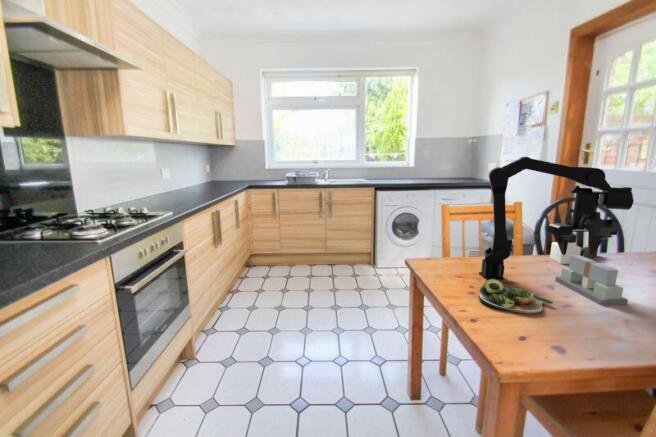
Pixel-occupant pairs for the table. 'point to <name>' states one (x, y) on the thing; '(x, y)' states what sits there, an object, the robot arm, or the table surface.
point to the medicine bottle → (571, 250)
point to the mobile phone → (587, 252)
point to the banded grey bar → (593, 270)
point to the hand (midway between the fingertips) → (577, 254)
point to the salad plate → (509, 297)
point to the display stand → (591, 288)
